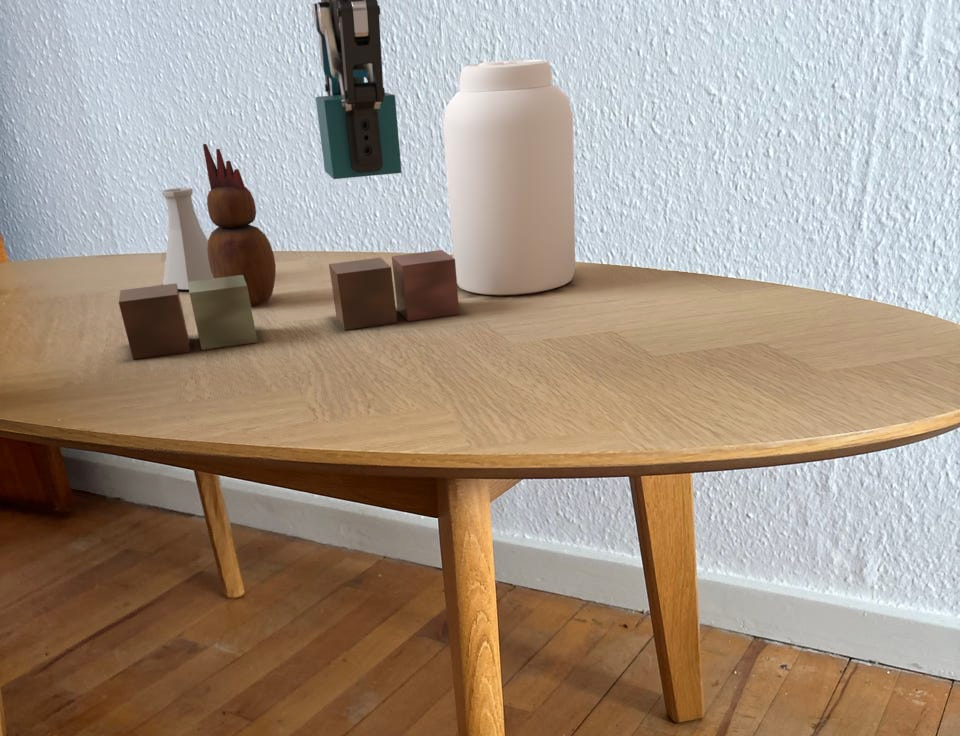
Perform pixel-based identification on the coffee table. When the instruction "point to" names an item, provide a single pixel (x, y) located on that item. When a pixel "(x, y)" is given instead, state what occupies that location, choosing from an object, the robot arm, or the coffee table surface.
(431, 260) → the block row
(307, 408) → the coffee table surface
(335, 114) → the teal block
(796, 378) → the coffee table surface
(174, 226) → the flask
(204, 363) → the coffee table surface
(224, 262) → the wooden figurine
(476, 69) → the white jar
